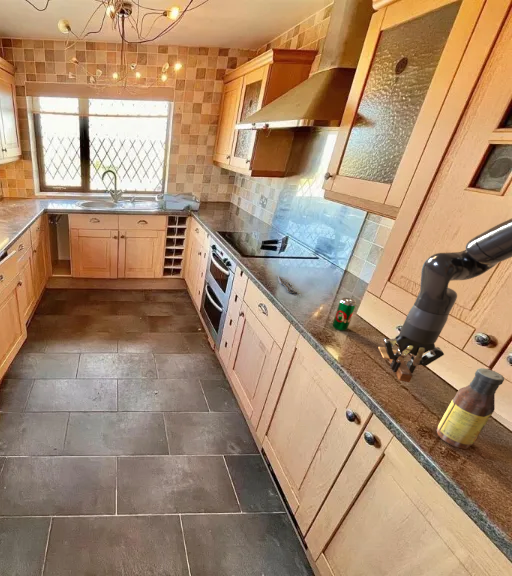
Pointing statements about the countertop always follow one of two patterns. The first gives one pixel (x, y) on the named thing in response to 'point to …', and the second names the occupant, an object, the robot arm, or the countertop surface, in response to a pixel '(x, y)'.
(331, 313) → the countertop surface
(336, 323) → the soda can
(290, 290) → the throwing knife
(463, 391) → the sauce bottle
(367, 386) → the countertop surface
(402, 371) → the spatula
